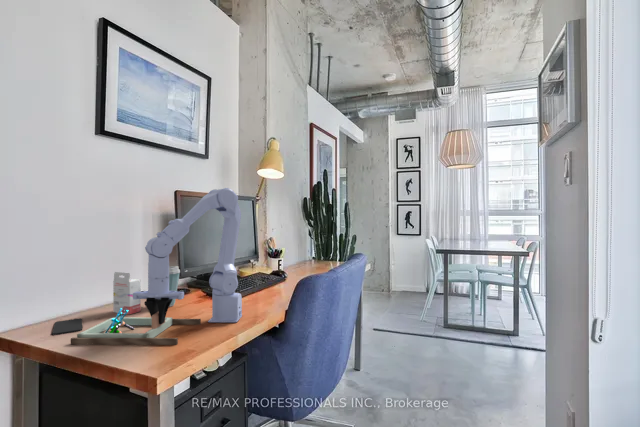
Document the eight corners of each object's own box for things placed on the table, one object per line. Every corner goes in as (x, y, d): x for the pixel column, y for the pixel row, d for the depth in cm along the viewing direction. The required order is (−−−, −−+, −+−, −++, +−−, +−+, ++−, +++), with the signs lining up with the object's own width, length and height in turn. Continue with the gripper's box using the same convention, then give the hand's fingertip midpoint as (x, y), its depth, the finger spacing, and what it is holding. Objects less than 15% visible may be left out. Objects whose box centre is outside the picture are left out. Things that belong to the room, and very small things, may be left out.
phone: (82, 317, 118) (82, 329, 106) (82, 320, 118) (82, 332, 106) (54, 321, 114) (51, 333, 101) (54, 324, 114) (51, 336, 101)
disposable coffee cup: (149, 310, 128) (149, 269, 128) (151, 303, 138) (151, 266, 138) (180, 307, 133) (180, 268, 133) (179, 301, 142) (179, 264, 143)
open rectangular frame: (172, 324, 111) (172, 305, 111) (146, 342, 95) (146, 320, 95) (112, 324, 112) (112, 305, 112) (77, 342, 96) (77, 320, 96)
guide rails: (200, 323, 112) (200, 318, 112) (176, 344, 94) (176, 338, 94) (112, 323, 113) (112, 318, 113) (70, 344, 94) (70, 338, 94)
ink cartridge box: (141, 311, 127) (141, 271, 127) (129, 315, 123) (129, 273, 123) (124, 309, 130) (124, 269, 131) (112, 312, 126) (112, 271, 126)
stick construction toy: (106, 321, 107) (122, 302, 107) (127, 331, 110) (143, 312, 110) (97, 345, 97) (115, 324, 97) (121, 355, 100) (138, 334, 100)
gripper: (127, 280, 100) (126, 327, 99) (177, 280, 99) (177, 327, 99) (140, 275, 107) (140, 320, 106) (187, 275, 106) (186, 320, 106)
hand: (158, 323), depth 103 cm, fingers closed on open rectangular frame
